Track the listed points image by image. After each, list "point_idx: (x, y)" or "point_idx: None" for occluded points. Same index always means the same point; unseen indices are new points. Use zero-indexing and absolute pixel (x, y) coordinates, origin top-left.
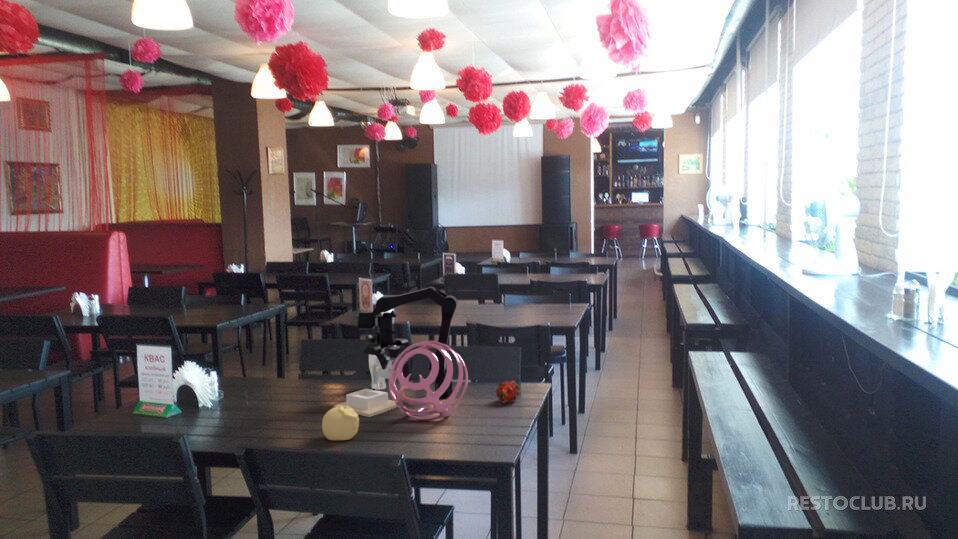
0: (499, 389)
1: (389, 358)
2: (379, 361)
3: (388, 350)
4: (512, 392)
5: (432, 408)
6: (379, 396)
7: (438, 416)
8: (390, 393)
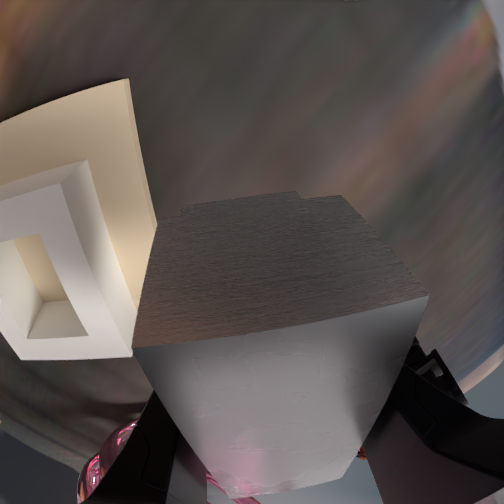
0: None
1: (291, 465)
2: (138, 426)
3: (461, 477)
4: None
5: None
6: (79, 355)
7: None
8: (80, 473)
